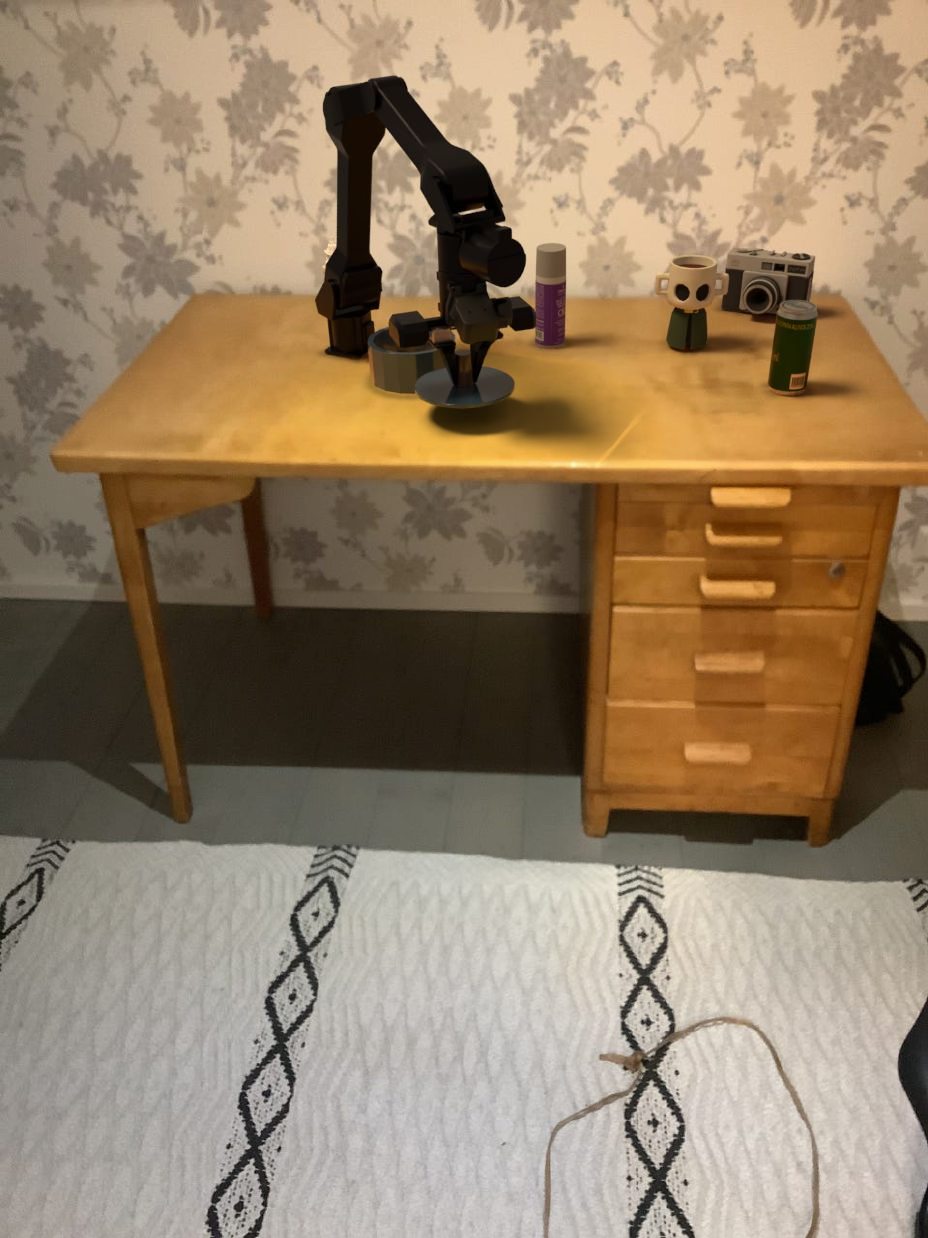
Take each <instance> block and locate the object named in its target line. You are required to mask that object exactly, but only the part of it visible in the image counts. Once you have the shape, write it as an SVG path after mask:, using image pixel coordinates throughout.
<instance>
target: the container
mask: <svg viewBox="0 0 928 1238" xmlns="http://www.w3.org/2000/svg"><path fill="white" fill-rule="evenodd" d="M535 250H536V253H535V255H536V256H535V280H534V281H535V283H534V284H535V287H534V288H535V289H534V290H535V295H534V296H535V297H534V300H535V302H534V303H535V305H534V309H535V313H536V327H535V328H534V344H535V346H536V347H538V348H540V349H545V350H554V349H559V348H560V349H561V348H562V347H564V346H565V344H566V309H567V307H566V305H567V246H566V245H565V244H562V243H557V242H546V243H541V244H538V245H537V246H536V249H535Z"/></svg>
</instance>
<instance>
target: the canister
mask: <svg viewBox="0 0 928 1238" xmlns="http://www.w3.org/2000/svg"><path fill="white" fill-rule="evenodd" d="M451 338H452V339H453V340H454V341H455V343H456V344H457V341H456V339H457V337H456V334H455V333H454V332H453V330H451ZM367 343H368V353H367V355H368V362H369V363H368V365H369V376H370V381H371V382H372V384H373V386H374V387H376V388H378V389H380V390H382V391H385V392H389V393H394V394H400V395H401V394H405V395H406V394H409V395H411V394H413V395H416V393H415V383H416V381H417V380H418V379H419V378H420V377H421V376H423V375H425V374H427V373H429V372H431V371H434V370H437V369H441V368H445V364H444V362H443V359H442V357H441V355H440V353H439V351H438V349H436V348H433V347H432V346H431V345H430V344H429V342H428V341H427V342H426V344H425V345H423V346H416V347H410V348H401V347H399V346H398V345H397V343H396V342H395V341H394V340H393V338H392V337H391V336H390V335H389V326H386V327H383V328H379V329H377V330H375V333H373V334H372V335H370V337H369V339H368V342H367ZM455 351H457V346H456V347H455Z"/></svg>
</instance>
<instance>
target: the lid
mask: <svg viewBox="0 0 928 1238" xmlns="http://www.w3.org/2000/svg"><path fill="white" fill-rule="evenodd" d="M455 358H456V367H457V375H458V384H457V386H454V385H453V383H452V381H451V379H450V376H449V374H448V371H447V369H446V367H445V368H441V369H437V370H434V371H431V372H429V373H427V374H425V375H423V376H421V377H420V378H419V379H418V380H417V381H416V383H415V393H416V394H415V395H416V396H417V397H418V398H419V399H420V400H421V401H422V402H425V403H427V404H429V405H434V406H436V407H441V408H449V409H474V408H475V409H476V408H482V407H486V406H491V405H494V404H497V403H500V402H502V401H504V400H506V399H507V398H509V397H510V396H511V395H512V394H513V393H514V392H515V389H516V381H515V379H514V378H513V377H512V375H510V374H509V373H507V372H505V371H503V370H501V369H499V368H495V367H490V366H485V365H482V368H481V371H480V374H479V377H478V380H477V382H476V383H474V382H473V352H472V351H471V350H470V349H466V348H464V349H463V348H461V349H456V351H455Z"/></svg>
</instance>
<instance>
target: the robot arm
mask: <svg viewBox="0 0 928 1238" xmlns="http://www.w3.org/2000/svg"><path fill="white" fill-rule="evenodd" d="M322 112H323V113H322V114H323V118H324V121H325V122H324V124H325V131H326V133H327V134H328V136H329V138H330V139H331V141H332V143H333V144H334V146H335V148H336V151H337V152H336V162H337V163H336V243H335V244H336V249H335V250H334V252H333V254H332V255H331V257H330V258H329V260H328V262H327V263H326V266H325V265H324V266H325V273H324V277H323V283H322V284H321V286H320V288H319V291H318V292H317V294H316V297H315V299H314V303H315V307H316V310H317V313H318V315H320V316H322V317H324V318H326V320H327V329H328V339H329V346H328V347H327V348H325V349H324V353H325V354H328V355H334V356H340V357H345V358H346V357H347V358H352V359H361V358H362V357H364V356H365V355H368V343H367V342H368V339H369V337H370V335H372V334H373V333H375V332H376V329H375V321H374V320H372V319H373V318H372V311H377V310H380V304H381V297H382V292H383V282H382V281H383V273H384V272H383V269H382V267H381V266H379V265H378V263H377V262H376V260H375V258H374V257H373V256H372V255H373V254H371V229H372V228H371V227H372V224H371V221H372V194H373V163H374V154H375V152H376V150H377V149H378V147H379V145H380V144H381V142H382V141H383V139H384V137H385V135H386V130H387V132H388V133H389V134H390V135H391V137H392V138H393V139H394V140H395V142H396V143H397V145H398V146H399V148H400V149H402V151H403V152H404V154H405V155H406V156H407V158H408V159H409V160H410V161H411V162H412V164H413V165H414V167H415V169H416V170H417V172H418V173H419V175H420V177H419V178H420V179H419V191H420V192H421V193H422V195H423V197H424V199H425V200H426V202H427V204H428V206H429V207H430V210H432V213H433V215H431V216H430V217H429V219H427V223H428V225H429V226H430V227H432V228H435V229H436V247H437V271H435V272H436V280H437V282H438V292H439V293H438V294H439V302H437V310H438V312H439V315H440V316H433V317H427V318H426V317H424V316H423V315H422V314H421V313H420V312H419V311H418V310H412V311H404V312H399V313H392V315H391V316H390V317H389V319H388V327H389V335H390V336H391V337H392V338H393V340H394V341H395V342H396V343H397V345H398V346H399V347H401V348H410V347H416V346H423V345H425V344H426V342H427V341H428V342H429V344H430V345H431V346H432V347H433V348H436V349H438V351H439V353H440V355H441V357H442V359H443V362H444V364H445V367H446V369H447V371H448V374H449V376H450V379H451V381H452V383H453V385H454V386H457V384H458V375H457V367H456V358H455V347H456V348H457V342H456V343H455V341H454V340H453V339H452V338H451V331H454V330H456V332H457V334H458V336H459V340H460V342H461V343H462V344H465V345H469V350H471V351H472V352H473V382H474V383H476V382H477V380H478V377H479V374H480V371H481V368H482V366H484V362H485V360H486V357H487V355H488V352H489V350H490V348H491V346H492V345H493V344H494V343H496V341H498V340H502V339H504V336H505V335H504V333H503V332H502V331H501V329H507V328H508V327H510V329H512V330H513V331H514V332H522V331H529V330H533V329H534V330H535V327H536V313H535V307H533V306H532V305H531V304H529V303H528V302H527V301H526V300H524V299H523V298H522V297H521V296H520V295H518V296H517V295H516V296H510V297H509V296H501V297H491V298H490V295H489V292H488V285H487V283H489V284H491V285H493V286H496V287H499V288H505V289H506V288H510V287H511V286H513V285H515V284H516V283H517V282H518V281H519V280H520V278H521V277H522V275H523V273H524V271H525V268H526V265H527V254H526V253H525V249H524V247H523V245H522V244H521V243H520V242H519V241H518V240H517V239H515V238H514V237H513V229H512V228H511V227H510V226H507V225H500V224H501V223H504V222H506V219H507V218H506V216H505V215H506V214H505V213H504V210H503V208H504V205H503V203H502V201H501V198H500V197H499V195H498V193H497V191H496V189H495V185H494V184H493V181H492V178H491V175H490V173H489V172H488V169H487V167H486V166H485V165H484V163H483V162H482V161H481V160H480V159H478V158H477V157H476V156H475V155H474V154H473V153H471V152H470V151H469V150H468V149H465V148H462V147H459V146H457V145H454V144H453V143H451V142H450V141H449V140H448V139H447V138H446V137H445V136H444V134H443V133H442V131H440V129H439V128H438V127H437V126H436V124H435V123H434V122H433V121H432V120H431V118H430V117H429V115H428V114H427V113H426V112H425V110H424V109H423V108H422V107H421V105H420V104H419V103H418V102H417V101H416V99H415V98H414V97H413V96H412V94H411V93H410V91H409V88H408V85H407V82H406V81H405V79H404V77H402V76H398V75H396V74H393V75H386V76H378V77H373V78H369V79H368V80H367V81H363V82H357V83H349V84H341V85H336V86H331V87H329V89H328V91H326V92H325V93H324V97H323V100H322ZM483 208H484V209H483ZM479 209H483V210H479ZM474 210H477V211H474ZM469 211H470V212H469ZM471 211H474V212H471ZM465 212H468V213H465ZM460 213H463V214H460Z"/></svg>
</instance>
